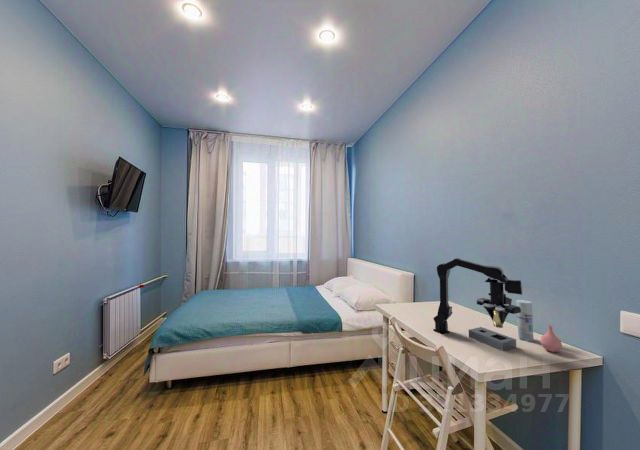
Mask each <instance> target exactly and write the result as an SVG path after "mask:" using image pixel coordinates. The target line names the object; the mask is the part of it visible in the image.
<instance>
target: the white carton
mask: <svg viewBox="0 0 640 450" xmlns="http://www.w3.org/2000/svg"><path fill="white" fill-rule="evenodd" d="M516 306H519V307H520V309H521V313H516V317H517V318H516V319H517V333H518V339H519V340H521V341H525V342H529V343H530V342H534V324H533V323H534V322H533V319H534V317H533V302H532V301H530V300H526V299H525V300H524V299H517V300H516Z"/></svg>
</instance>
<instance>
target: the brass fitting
mask: <svg viewBox="0 0 640 450" xmlns="http://www.w3.org/2000/svg"><path fill="white" fill-rule="evenodd" d="M501 310H502V309H496V308H495V309H494V310H493V320H492V323H493V327H494V328H498V329H499V328H501V329H502V328H504V324H501V319H500V313H499V311H501Z"/></svg>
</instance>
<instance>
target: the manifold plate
mask: <svg viewBox="0 0 640 450" xmlns="http://www.w3.org/2000/svg"><path fill="white" fill-rule="evenodd" d="M468 338H469V339H472V340H475V341H477V342H479V343H482V344H484V345H487V346H489V347H492V348H494V349H497V350H499V351H502V352H505V351H508V350H512V349H516V348H517V339H516V338H514V337H510V336H508V335H506V334H502V333H499V332H496V331H493V330H491V329H488V328H485V327H482V326H479V327H475V328H471V329H470V328H469V329H468Z"/></svg>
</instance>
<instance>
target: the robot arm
mask: <svg viewBox="0 0 640 450" xmlns="http://www.w3.org/2000/svg"><path fill="white" fill-rule="evenodd" d="M456 267H460V268H463V269H466V270H471V271H473V272H477V273H481V274H483V275H484V276H486V277H488V278H487V279H486V280H484V282H485V283H489V292H488V296H489V297H490V298H485V297H481V298H477V299H476V305H479V306H482V307H483V308H484V309H485V310H486V312H487V313H488V315H489V316H490V319H491V320H492V321H493V310H494V309H496V308H500V310H501V311H499V313H500V319H501V324H503V325H504V323H505V321H506V319H507V316H508V315H509V314H512V315H514V314H515V315H517V313H521V309H520V307H519V306H517V305H514V304H512V302H513V299H512V298H510V297H507V294H512V295H514V294H515V295H519V296H520V295H521V296H522V295H523V286H522V280H520V279H517V280H516V279H515V280H514V279H509V278H508V276H506V275H505V274H504V270H503V269H502V268H501V267H500V266H495V265H483V264H479V263H476V262H471V261H469V260H466V259H465V260H464V259H462V258H459V257H456V258H454V259H452V260H450V261H448V262H444V263H440V264H438V265H437V266H436V272H437V276H438V279H439V305H438V310H437V315H436V316H434V317H433V321H434V326H435V327H434V328H433V329H432V330H433V331H434V332H436V333H439V334H441V335H443V334H448V333H450V332H451V331H450V330H449V327H448V326H449V325H448V319H449V318H450V317H451V316H452V315H453V306H450V303H449V278H450V274H451V269H453V268H456ZM504 291H505V292H507V294H506V293H505V292H504Z"/></svg>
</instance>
